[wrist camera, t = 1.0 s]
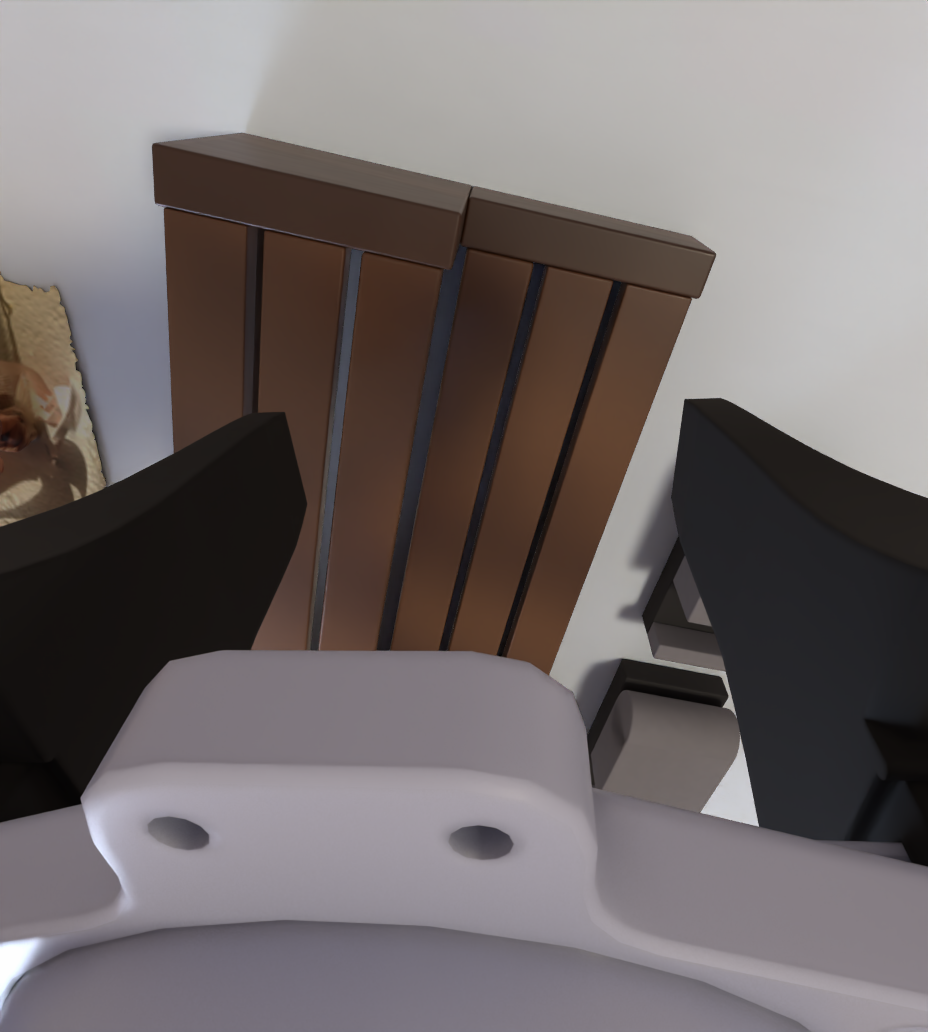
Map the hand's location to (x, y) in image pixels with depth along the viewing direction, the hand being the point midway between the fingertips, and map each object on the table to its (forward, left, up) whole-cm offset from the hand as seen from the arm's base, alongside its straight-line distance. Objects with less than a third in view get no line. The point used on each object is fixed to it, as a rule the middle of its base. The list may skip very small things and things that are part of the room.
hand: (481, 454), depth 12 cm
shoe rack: (-8, +1, -10) cm, 12 cm away
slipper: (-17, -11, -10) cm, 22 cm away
